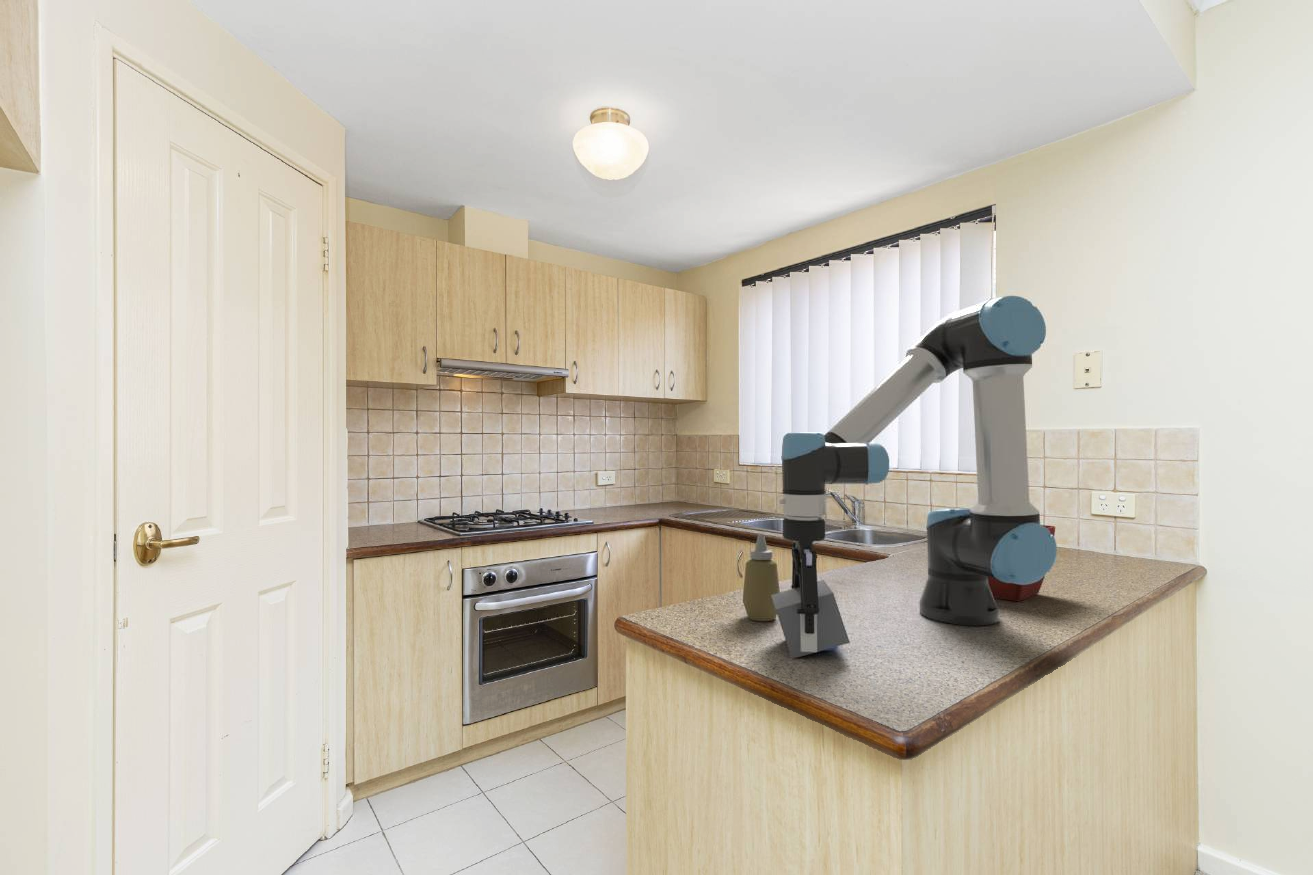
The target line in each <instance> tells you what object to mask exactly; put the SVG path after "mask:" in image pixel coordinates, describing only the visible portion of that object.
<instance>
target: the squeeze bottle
mask: <svg viewBox="0 0 1313 875" xmlns="http://www.w3.org/2000/svg"><path fill="white" fill-rule="evenodd" d="M754 547H755V548H753V549H751V550H750V551H749V557H750V559H749V560H747V561H746V563H745V568H744V569H745V570H744V571H745V572H744V579H743V580H744V581H743V591H742V602H743V603H742V604H743V606H744V609H745V613H746V615H747V618H748V619H750V620H752V621H757V622H771V621H775V619H776V618H777V617H778V615H777V612H776V609H775V606H774V603H773V599H772V596H771V595H773V594H776V593H780V581H779V572H778V563H777V562H776V561H774V560H773V550H771V549H768V546H767V542H766V538H765V534H764V533H762V532H760V533H758V534H757V539H756V542H755V546H754Z"/></svg>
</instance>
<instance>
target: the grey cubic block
mask: <svg viewBox="0 0 1313 875" xmlns="http://www.w3.org/2000/svg"><path fill="white" fill-rule="evenodd" d="M817 586H818V605H819V613H817V652H801V650H800V614H797V610H798V609H801V595H800V587H798V588H794V589H792V588H791V589H787V590H783V591H781V592H780V593H776V594H773V595H771V596H772V599H773V603H774V606H775V609H776V612H777V618H778V621H779V624H780V627H781V630H782V634H783V636H784V640H785V642H786V643H785V644H786V646H787V648H788V652H789V654H790V658H791V659H797V658H800V657H803V656H807V655H811V654H814V653H818V652H821V651H823V650H826V649H829V648H833V647H837V646H838V647H839V646H843V645H846V644H850V643H851V642H850V640H849V637H848V633H847V630H846V627H845V625H844V622H843V619H842V615H841V612H840V609H839V607H838V604H837V599H836V597H835V594H834V592H833V591H832V589H831V588H830V586H829V585H828V583H826V581H825V579H822V580H817ZM807 606H813V605H807ZM838 647H837V648H838Z"/></svg>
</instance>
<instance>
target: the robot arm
mask: <svg viewBox="0 0 1313 875" xmlns="http://www.w3.org/2000/svg"><path fill="white" fill-rule="evenodd" d="M1046 335H1047V326H1046V322H1045V319H1044V317H1043V315H1042V313H1041V311H1040V309H1038V307H1037V306H1036V305H1033V303H1032V301H1030V300H1028V299H1027V298H1024V297H1022V296H1018V295H1005V296H1001V297H997V298H990V299H988V300H986V301H984V302H981V303H979V304H976V305H973V306H970V307H967V308H964V309H960V310H957V311H954V312H952V313H950V314H948V315H947V316H945V317H944V318H942V319H941V320H940V321H938V322H937V323H935V324H934V326H932V327H931V328H929V330H927V332H926V333H925V334H924V335H922V336H921V337H920V338H919V340H917V341H916V342H915V343H914V344H913V345H912V346H910V347H909V348H908V350H907V351H906V353H905V359H904V360H903V361H902V362H901V363H900V364H899V365H898V366H897V367H895V368H894V369H893V371H891V372H890V373H889V374H888V375H887V376H886V377H885V378H884V379H883V380H882V381H881V382H880V383H879V384H877V385H876V386H875V387H874V388H873V389H872V390H871V391H870V392H869V393H868V394H867V395H866V396H864V397H863V398H862V399H861V400H860V401H859V402H858V403H857V404H856V405H855V406H854V407H853V408H852V409H851V410H850V411H849V412H848V413H846V414H845V415H844V416H843V417H842V418H841V419H840V420H839V421H838V422H837V423H836V424H835V425H834V426H832V428H830V429H829V431H827V432H826V433H825V434H824V433H822V432H820V431H819V432H818V431H817V432H816V431H814V432H810V431H809V432H807V431H805V432H804V431H802V432H799V431H798V432H795V431H794V432H788V433H786V434H785V435H783V437H782V445H781V458H780V459H781V469H782V470H781V472H782V474H781V475H782V477H781V478H782V481H781V482H782V497H783V498H780V499H779V500H778V503H779V504H780V505H782V515H784V518H783V519H782V520H781V521H782V526H781V527H782V538H783V539H784V540H787V541H791V542H792V543H791V546H792V548H791V558H792V560H791V564H792V570H791V572H792V573H791V586H790V587H791V589H794V588H798V587H800V595H801V609H798V610H797V614H800V650H801V652H815V653H818V652H817V613H819V605H818V586H817V582H818V573H817V572H818V570H817V564H818V563H817V561H818V560H817V558H818V555H817V550H815V548H814V547H813V546H814V545H813V543H814V542H822V541H824V540H825V539H826V521H825V520H824V519H823V517H825V516H826V485H835V484H836V485H863V484H864V485H866V486H867V485H869V484H880V483H882V482H884V480H885V479H886V478H887V477H888V474H889V471H890V457H889V453H888V452H887V450H886V448H885V447H884V446H883V445H881V444H878V443H872V441H873V440H874V439H875V438H877V436H879V435H880V434H881V433H882V432H883V430H885V429H886V428H887V427H888V426H889V425H890V424H892V423H893V422H894V421H895V419H897V418H898V417H899V416H900V415H901V414H902V413H903V412H904V411H905V410H906V409H907V408H909V406H910V405H912V403H914V402H915V401H916V400H917V399H918V398H919V397H920V396H921V395H922V394H923V393H924V392H925V391H926V390H927V389H928V388H929V387H930V386H932V385H933V384H939V383H941V382H943V381H944V380H945V379H946V378H948V376H950V375H951V374H952V373H954V372H957V371H958V370H961V369H962V372H963V374H964V375H965V376H966V377H968V378H969V379H970V380H971V382H972V400H973V419H974V438H975V439H974V440H975V441H974V442H975V458H976V459H975V462H976V463H975V464H976V482H977V483H976V484H977V486H976V487H977V502H976V503H975V505H973V506H972V507H971V508H952V509H951V508H950V509H945V508H944V509H933V510H930V511H929V512H928V514H927V518H926V527H925V529H926V539H927V540H926V542H927V543H926V545H927V546H926V547H927V553H926V554H927V579H926V582H925V584H924V586H923V587H924V588H923V591H922V594H921V596H920V599H919V613H920V614H921V615H922V616H923V617H926V618H928V619H931V620H933V621H937V622H942V623H946V624H952V625H960V626H961V625H962V626H988V625H993V624H996V623H998V622H999V608H998V605H997V603H996V600H995V598H994V597H993V594H992V591H991V589H990V586H989V582H988V577H992V578H995V579H998V580H1000V581H1002V582H1006V583H1015V584H1020V585H1026V584H1032V583H1035V582H1037V581H1039V580H1040V579H1042V578H1043V577H1044V576H1045V577H1046V574H1047V573H1049V572H1050V570H1052V568H1053V566H1054V564H1055V561H1056V559H1057V554H1058V548H1057V546H1058V545H1057V542H1056V538H1055V535H1054V536H1053V535H1052V534H1050V531H1049V530H1048V529H1047V528H1045V527H1044V526H1042V525H1043V524H1041V516H1040V510H1039V509H1038V508H1037V507H1035V506H1034V505H1033V504H1032V503H1031V502H1030V484H1029V481H1030V480H1029V466H1028V447H1027V446H1028V444H1027V425H1026V424H1027V423H1026V404H1025V402H1026V401H1025V385H1024V384H1025V382H1024V380H1025V379H1024V377H1025V375H1026V374H1027V373H1028V372H1029V371H1030V370H1031V369H1032V368H1033V354H1034V353H1036V352H1037V351H1038V350H1040V349H1041V346H1042V344H1044V342H1045V339H1046ZM1045 577H1044V578H1045ZM807 605H813V606H807Z"/></svg>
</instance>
